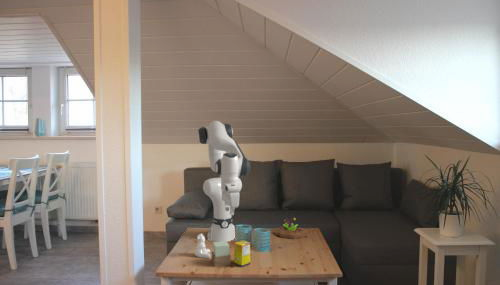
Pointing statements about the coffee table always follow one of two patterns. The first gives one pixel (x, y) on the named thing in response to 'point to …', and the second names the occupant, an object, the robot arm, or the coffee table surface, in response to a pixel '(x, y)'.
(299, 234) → the plant
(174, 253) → the coffee table surface
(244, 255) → the supplement box
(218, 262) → the walnut block
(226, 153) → the robot arm
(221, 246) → the sage block
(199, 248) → the white creature statuette
